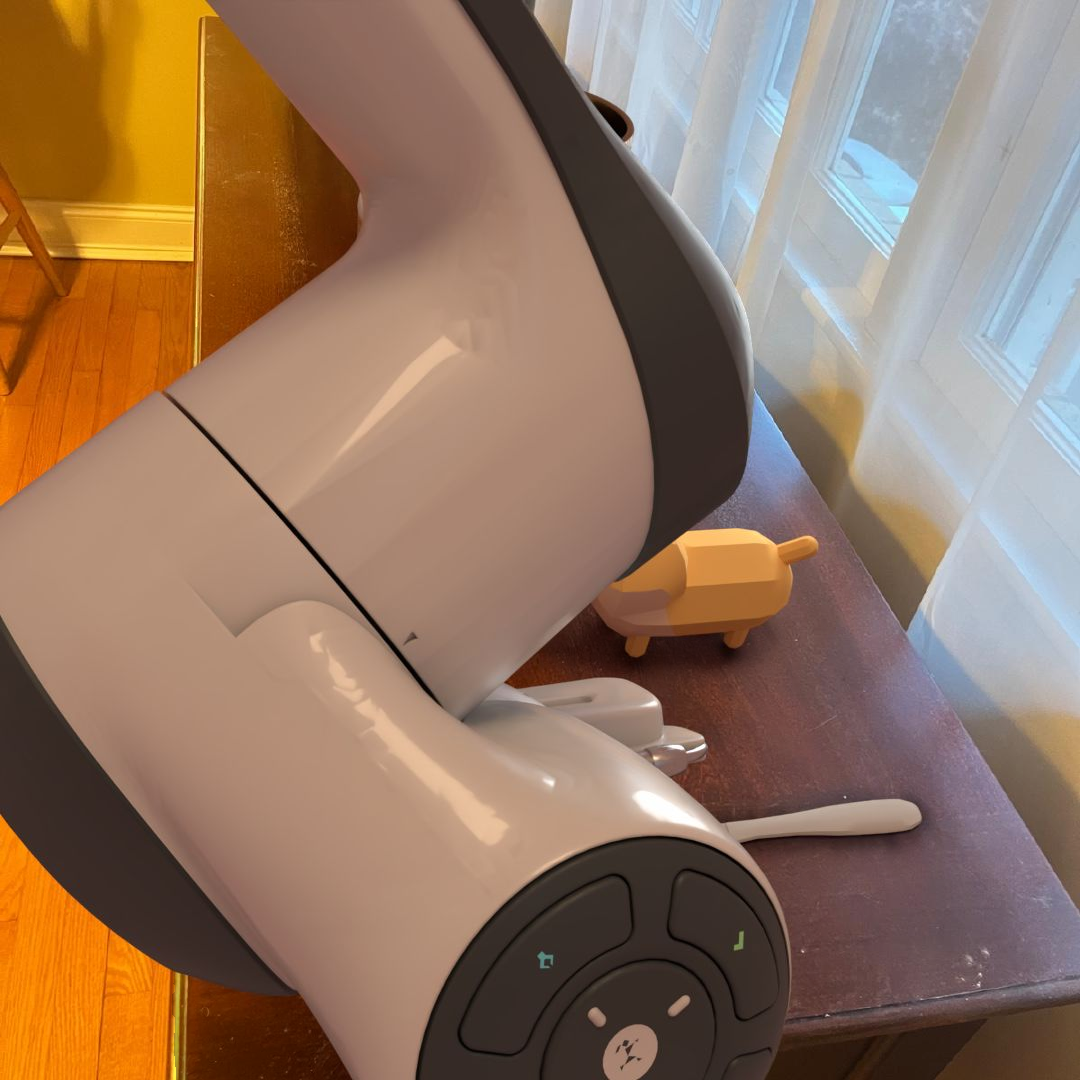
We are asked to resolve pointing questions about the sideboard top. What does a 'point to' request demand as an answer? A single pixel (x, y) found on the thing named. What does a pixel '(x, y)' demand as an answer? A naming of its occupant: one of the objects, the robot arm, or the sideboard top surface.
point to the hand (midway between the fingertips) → (372, 729)
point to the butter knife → (832, 821)
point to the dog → (704, 587)
